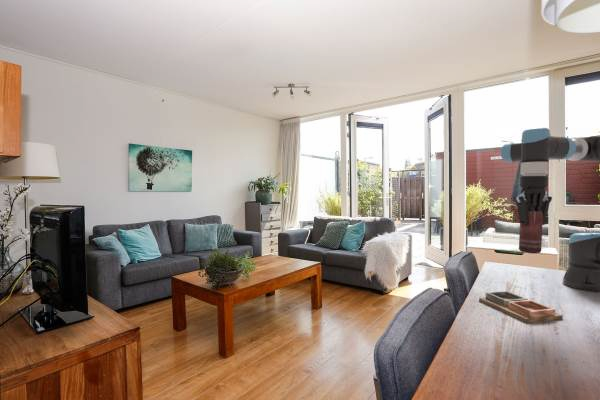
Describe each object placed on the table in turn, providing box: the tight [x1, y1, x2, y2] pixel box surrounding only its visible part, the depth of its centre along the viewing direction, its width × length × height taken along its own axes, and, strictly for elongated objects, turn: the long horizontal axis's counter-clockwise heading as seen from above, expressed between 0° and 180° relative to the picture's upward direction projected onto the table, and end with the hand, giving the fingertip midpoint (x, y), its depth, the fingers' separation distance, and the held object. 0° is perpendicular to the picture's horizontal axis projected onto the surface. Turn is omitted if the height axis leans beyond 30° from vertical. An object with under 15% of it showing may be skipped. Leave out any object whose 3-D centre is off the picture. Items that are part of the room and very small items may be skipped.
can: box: [518, 211, 543, 254], centre depth 108 cm, size 6×6×14 cm
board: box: [478, 290, 564, 324], centre depth 113 cm, size 14×20×3 cm
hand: (531, 246), depth 108 cm, fingers closed
